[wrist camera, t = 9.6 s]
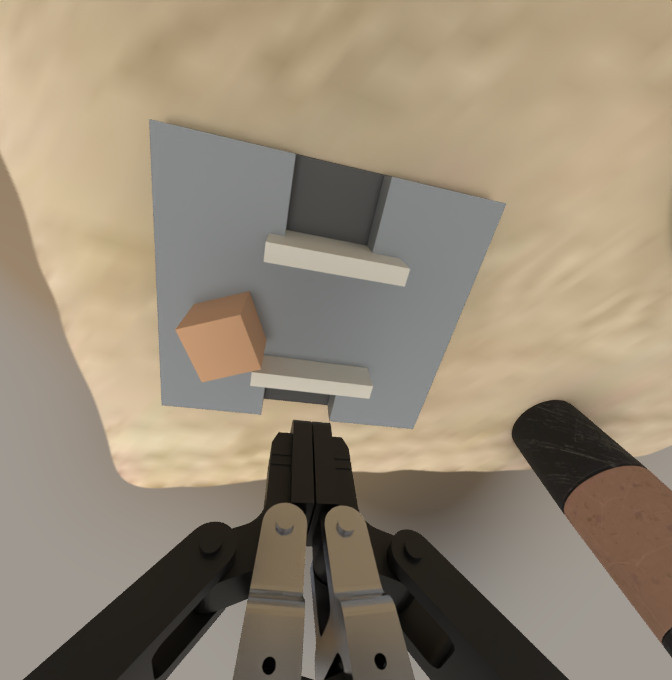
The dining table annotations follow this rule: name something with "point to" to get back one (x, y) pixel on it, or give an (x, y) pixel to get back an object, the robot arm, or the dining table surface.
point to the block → (223, 337)
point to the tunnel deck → (311, 274)
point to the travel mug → (606, 504)
